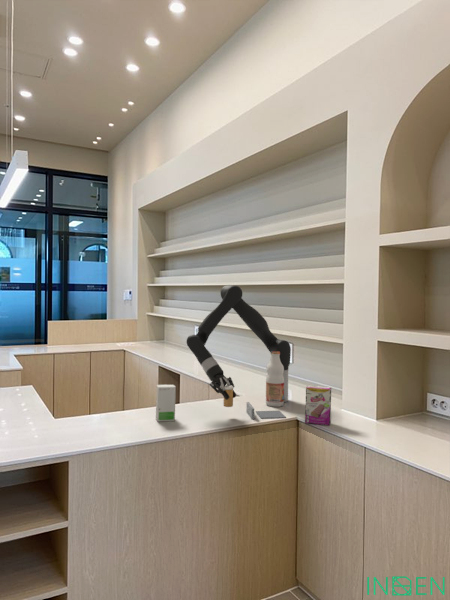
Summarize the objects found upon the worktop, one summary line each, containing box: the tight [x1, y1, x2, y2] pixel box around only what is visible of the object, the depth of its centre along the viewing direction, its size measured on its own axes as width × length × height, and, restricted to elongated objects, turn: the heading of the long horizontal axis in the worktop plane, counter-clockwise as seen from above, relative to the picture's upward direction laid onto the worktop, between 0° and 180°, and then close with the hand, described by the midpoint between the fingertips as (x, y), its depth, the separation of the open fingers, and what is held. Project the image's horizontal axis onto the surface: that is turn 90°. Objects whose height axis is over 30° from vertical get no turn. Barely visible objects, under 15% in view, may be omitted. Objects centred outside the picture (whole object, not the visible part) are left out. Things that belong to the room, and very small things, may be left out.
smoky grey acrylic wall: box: [245, 401, 255, 421], centre depth 212 cm, size 13×1×5 cm, turn 8°
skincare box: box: [155, 384, 177, 422], centre depth 204 cm, size 8×7×16 cm
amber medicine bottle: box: [223, 385, 234, 408], centre depth 209 cm, size 5×5×9 cm
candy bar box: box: [304, 385, 332, 426], centre depth 200 cm, size 11×5×16 cm, turn 74°
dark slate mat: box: [255, 410, 287, 420], centre depth 214 cm, size 12×12×1 cm
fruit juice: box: [265, 351, 285, 408], centre depth 233 cm, size 9×9×28 cm
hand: (231, 397), depth 208 cm, fingers closed on amber medicine bottle, 4 cm apart
